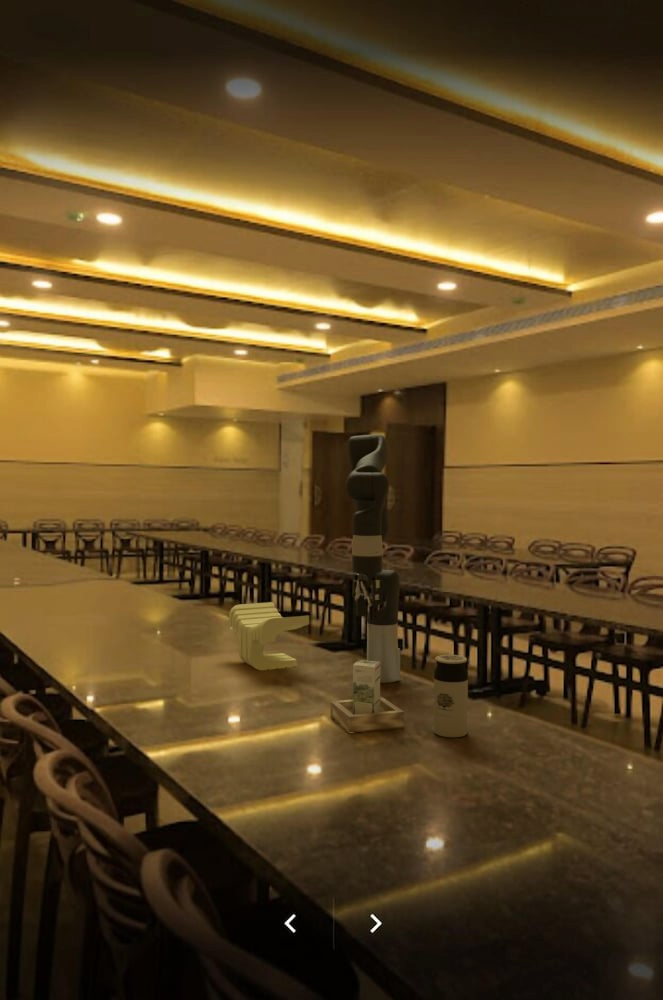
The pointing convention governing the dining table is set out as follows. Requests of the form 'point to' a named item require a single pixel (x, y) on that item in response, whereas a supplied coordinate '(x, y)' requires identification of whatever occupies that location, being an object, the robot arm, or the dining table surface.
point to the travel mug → (450, 696)
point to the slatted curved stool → (262, 633)
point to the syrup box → (366, 687)
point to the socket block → (367, 717)
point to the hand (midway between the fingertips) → (367, 618)
